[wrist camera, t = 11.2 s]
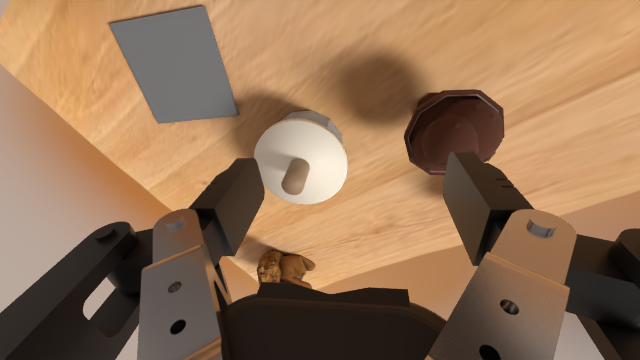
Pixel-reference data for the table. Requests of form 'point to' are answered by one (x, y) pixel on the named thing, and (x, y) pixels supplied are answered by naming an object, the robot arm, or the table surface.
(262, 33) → the table surface
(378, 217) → the table surface
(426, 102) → the ice cream bowl
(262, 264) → the stuffed squirrel
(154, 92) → the mat
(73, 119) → the table surface
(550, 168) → the table surface
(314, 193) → the lid
